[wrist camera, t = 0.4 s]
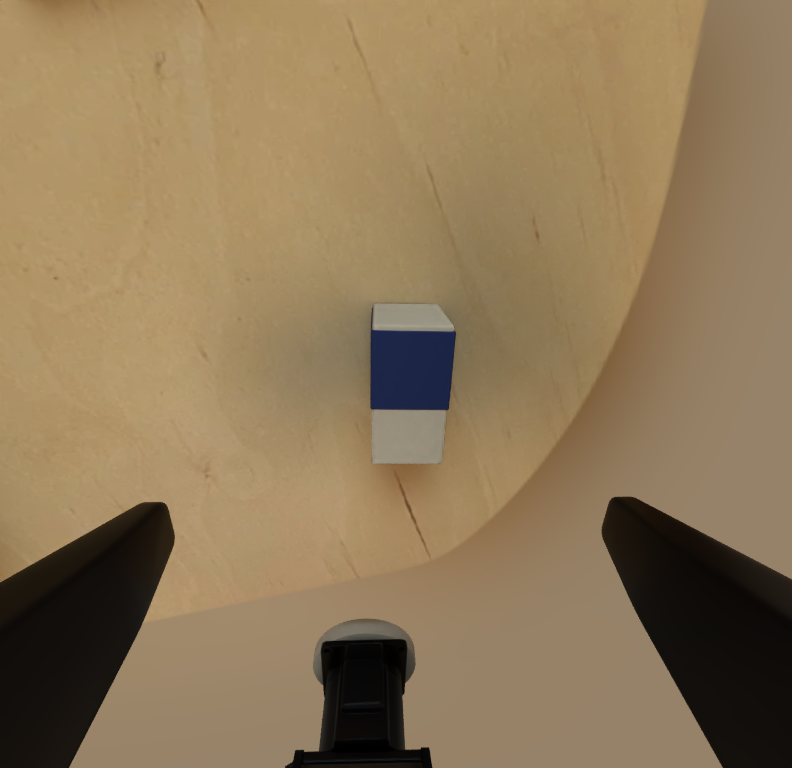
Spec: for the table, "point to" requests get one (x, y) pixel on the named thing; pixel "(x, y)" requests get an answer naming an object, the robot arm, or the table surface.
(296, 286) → the table surface
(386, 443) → the eraser
